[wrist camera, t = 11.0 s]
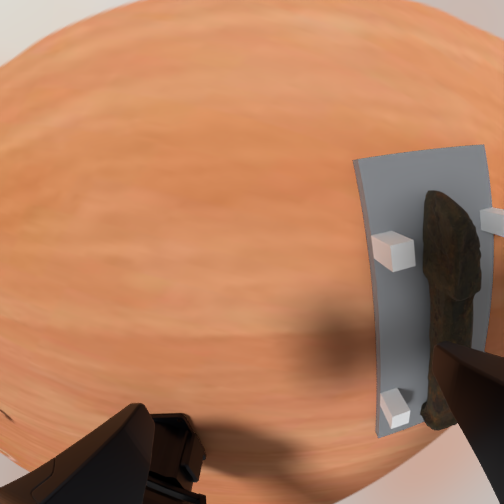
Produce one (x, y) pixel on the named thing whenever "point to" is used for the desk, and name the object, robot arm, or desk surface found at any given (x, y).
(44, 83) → the desk surface
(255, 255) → the desk surface
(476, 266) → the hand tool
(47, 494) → the robot arm
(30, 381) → the desk surface
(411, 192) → the plate
